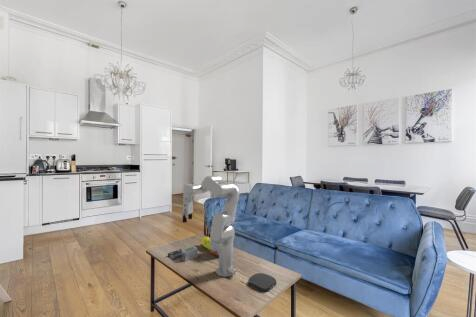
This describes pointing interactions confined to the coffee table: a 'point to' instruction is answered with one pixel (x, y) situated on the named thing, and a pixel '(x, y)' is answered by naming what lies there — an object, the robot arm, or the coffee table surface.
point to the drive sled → (175, 254)
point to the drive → (189, 253)
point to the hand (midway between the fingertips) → (187, 220)
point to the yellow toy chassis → (206, 242)
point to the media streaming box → (262, 282)
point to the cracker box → (214, 246)
